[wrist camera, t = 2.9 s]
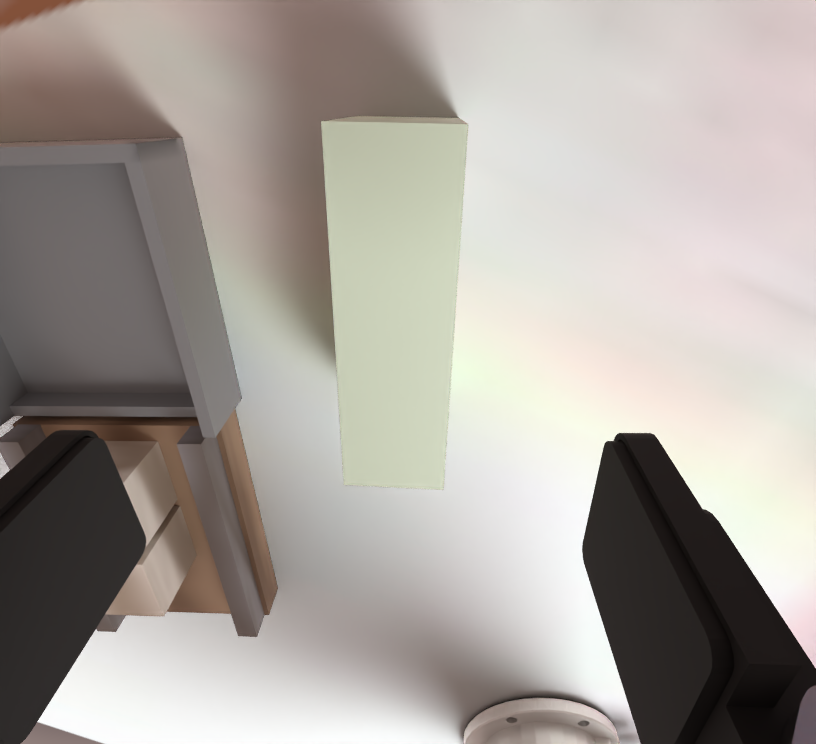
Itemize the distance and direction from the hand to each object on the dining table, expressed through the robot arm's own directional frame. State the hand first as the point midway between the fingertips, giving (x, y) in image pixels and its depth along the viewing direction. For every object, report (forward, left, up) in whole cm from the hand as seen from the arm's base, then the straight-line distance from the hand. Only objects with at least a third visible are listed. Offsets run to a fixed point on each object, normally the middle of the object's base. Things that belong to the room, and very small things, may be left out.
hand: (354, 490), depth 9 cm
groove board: (+15, +15, -15) cm, 26 cm away
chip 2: (+15, +15, -13) cm, 25 cm away
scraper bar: (0, 0, -15) cm, 15 cm away
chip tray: (+15, +1, -15) cm, 21 cm away
